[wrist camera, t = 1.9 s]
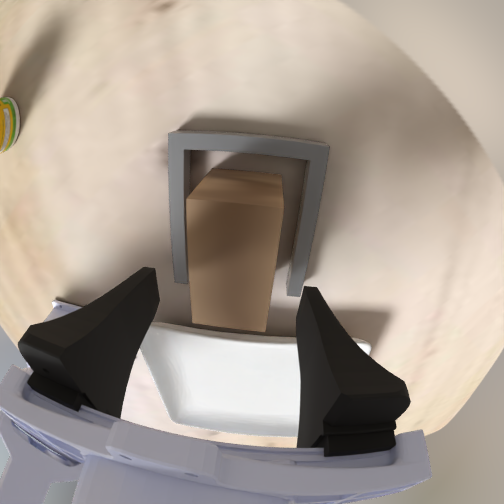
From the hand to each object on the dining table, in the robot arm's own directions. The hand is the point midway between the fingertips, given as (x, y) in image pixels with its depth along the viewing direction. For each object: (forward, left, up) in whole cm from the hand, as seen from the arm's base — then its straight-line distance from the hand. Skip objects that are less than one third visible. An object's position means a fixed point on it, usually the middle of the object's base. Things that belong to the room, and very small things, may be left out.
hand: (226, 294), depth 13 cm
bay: (0, 0, -8) cm, 8 cm away
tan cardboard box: (0, 0, -8) cm, 8 cm away
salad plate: (+2, -19, -8) cm, 21 cm away
